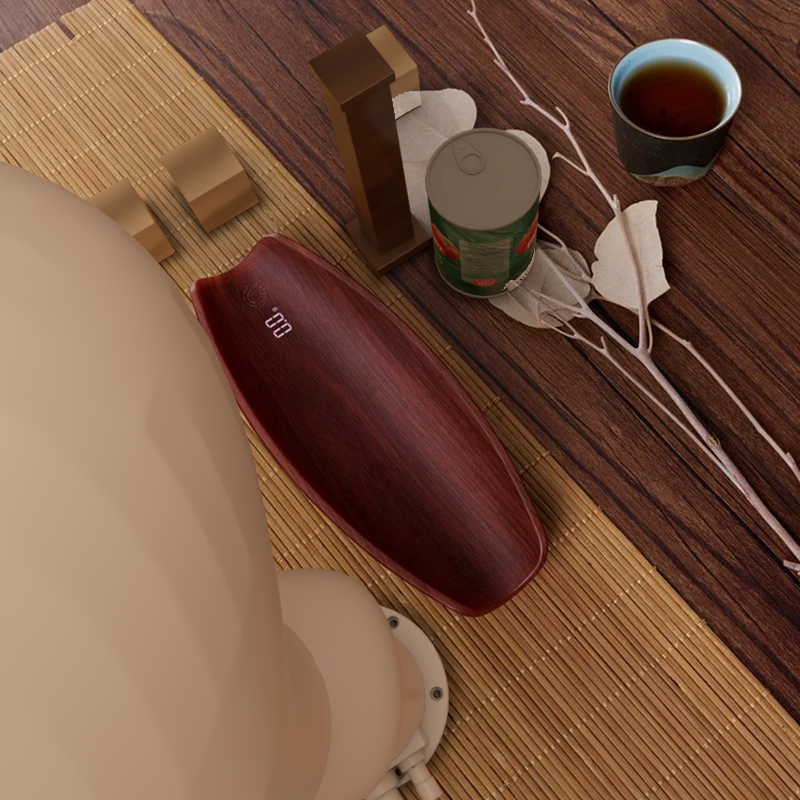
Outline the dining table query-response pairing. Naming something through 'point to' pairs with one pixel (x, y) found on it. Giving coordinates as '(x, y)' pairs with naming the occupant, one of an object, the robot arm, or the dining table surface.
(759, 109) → the dining table surface
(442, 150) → the canned tomato
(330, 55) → the stand
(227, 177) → the line block
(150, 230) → the line block
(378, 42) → the line block
